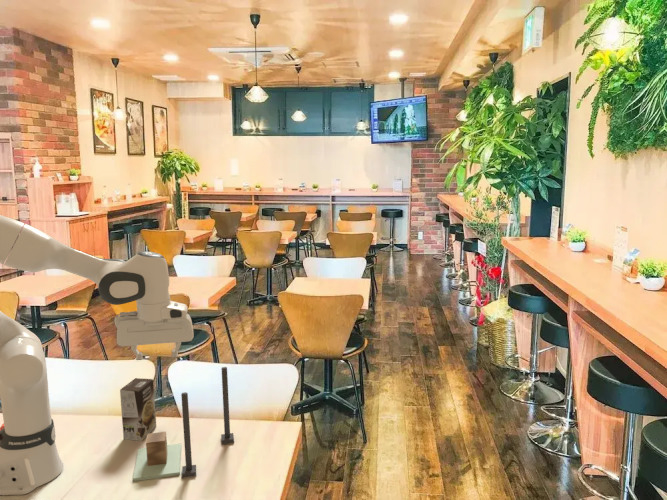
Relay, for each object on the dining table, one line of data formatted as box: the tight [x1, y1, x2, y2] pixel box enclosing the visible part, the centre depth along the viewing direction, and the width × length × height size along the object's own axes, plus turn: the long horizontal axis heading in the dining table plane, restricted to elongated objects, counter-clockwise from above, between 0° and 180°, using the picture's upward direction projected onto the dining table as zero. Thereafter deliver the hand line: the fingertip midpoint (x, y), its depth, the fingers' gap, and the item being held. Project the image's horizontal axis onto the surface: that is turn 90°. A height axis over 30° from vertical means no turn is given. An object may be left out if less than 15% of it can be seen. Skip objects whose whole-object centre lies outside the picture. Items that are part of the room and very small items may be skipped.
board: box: [132, 443, 182, 482], centre depth 157 cm, size 12×15×1 cm
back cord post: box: [220, 366, 235, 445], centre depth 166 cm, size 4×4×23 cm
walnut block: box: [145, 431, 168, 466], centre depth 157 cm, size 5×5×7 cm
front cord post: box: [180, 392, 197, 479], centre depth 150 cm, size 4×4×23 cm
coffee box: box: [119, 377, 157, 442], centre depth 172 cm, size 9×6×16 cm
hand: (157, 357), depth 156 cm, fingers open, 8 cm apart
